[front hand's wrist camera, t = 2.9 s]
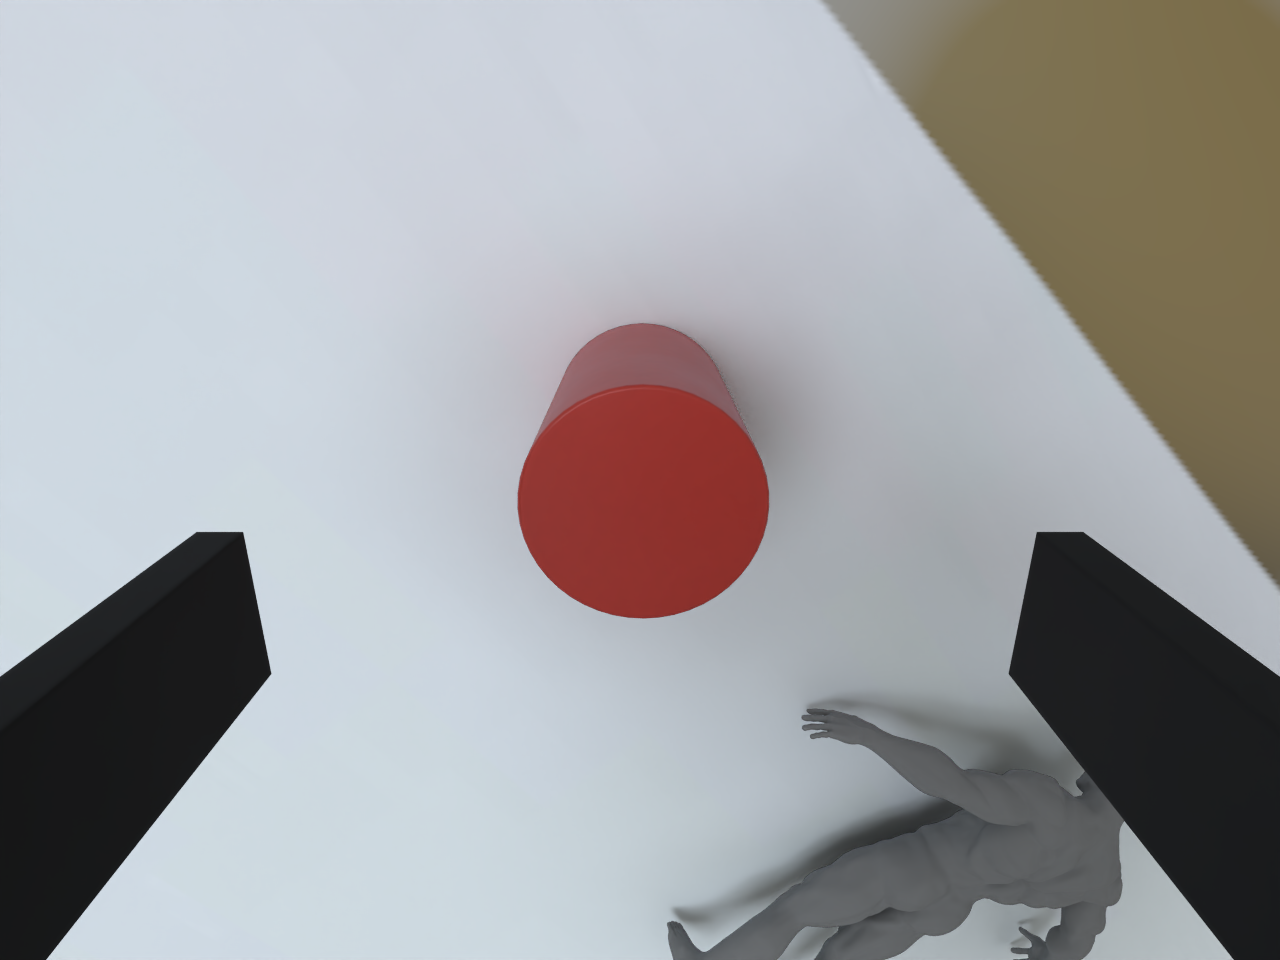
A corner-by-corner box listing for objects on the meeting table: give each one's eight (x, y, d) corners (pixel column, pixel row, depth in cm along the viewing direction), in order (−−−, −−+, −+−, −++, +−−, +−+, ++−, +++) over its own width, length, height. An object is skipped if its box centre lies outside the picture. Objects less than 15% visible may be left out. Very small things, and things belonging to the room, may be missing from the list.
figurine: (808, 1038, 36) (1214, 863, 31) (824, 1142, 32) (1292, 962, 27) (589, 827, 32) (1021, 581, 27) (577, 918, 28) (1080, 650, 23)
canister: (544, 335, 24) (493, 404, 16) (717, 312, 24) (759, 367, 16) (573, 496, 26) (541, 633, 18) (733, 475, 26) (778, 604, 18)
